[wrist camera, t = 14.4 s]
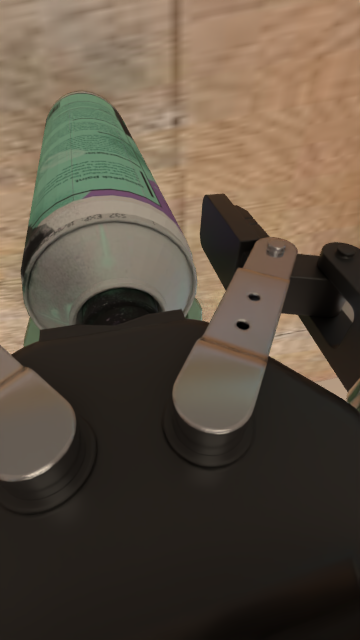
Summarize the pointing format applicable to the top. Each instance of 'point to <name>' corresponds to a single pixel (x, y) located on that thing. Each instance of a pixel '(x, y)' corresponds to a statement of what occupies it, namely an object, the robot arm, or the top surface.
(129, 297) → the spray can
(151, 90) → the top surface
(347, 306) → the lava lamp
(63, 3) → the top surface
